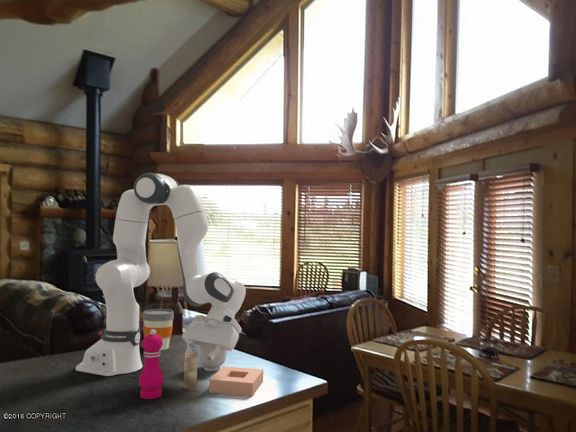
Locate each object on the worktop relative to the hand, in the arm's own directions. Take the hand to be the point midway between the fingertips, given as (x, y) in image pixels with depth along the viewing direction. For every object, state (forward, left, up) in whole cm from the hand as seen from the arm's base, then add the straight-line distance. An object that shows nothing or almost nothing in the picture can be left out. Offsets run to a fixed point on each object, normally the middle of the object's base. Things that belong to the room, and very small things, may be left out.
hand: (198, 356), depth 156 cm
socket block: (+13, +2, -9) cm, 16 cm away
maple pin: (-1, -3, -9) cm, 10 cm away
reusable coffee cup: (-32, +39, -9) cm, 51 cm away
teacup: (-1, +19, -9) cm, 21 cm away
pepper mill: (-10, -12, -9) cm, 19 cm away
